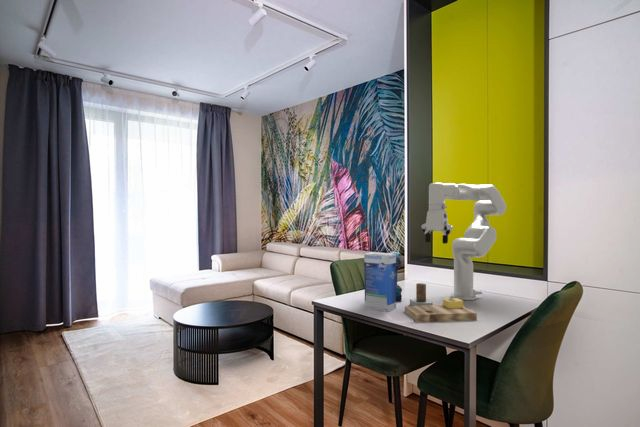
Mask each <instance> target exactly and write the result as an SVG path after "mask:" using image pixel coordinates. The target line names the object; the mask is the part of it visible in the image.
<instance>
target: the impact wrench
mask: <svg viewBox="0 0 640 427" xmlns="http://www.w3.org/2000/svg"><path fill="white" fill-rule="evenodd" d="M388 253H391V254H396V303H397V302H402V299H403V298H402V297H403V296H402V292H403V289H402V287H401V285H399V284H398V271H399V269H400V267H401V265H402V261H403V257H402V254H401V253H400V252H398V251H397V250H391V251H388Z"/></svg>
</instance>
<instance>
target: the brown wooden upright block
mask: <svg viewBox="0 0 640 427" xmlns="http://www.w3.org/2000/svg"><path fill="white" fill-rule="evenodd" d="M415 290H416V292H415V296H416V297H415V299H416V301H417V302H426V299H427V283H423V282H422V283H421V282H419V283H416V288H415Z"/></svg>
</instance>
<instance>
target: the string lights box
mask: <svg viewBox="0 0 640 427" xmlns="http://www.w3.org/2000/svg"><path fill="white" fill-rule="evenodd" d="M363 255H364V256H363V258H364V264H363V265H364V269H363V270H364V309H367V310H368V309H370V310H375V311H380V312H392V311H394V310H396V309H397V302H396V254H391V253H389V252H388V253H387V252H386V253H385V252H372V251H370V252H366V253H364V254H363Z"/></svg>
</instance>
